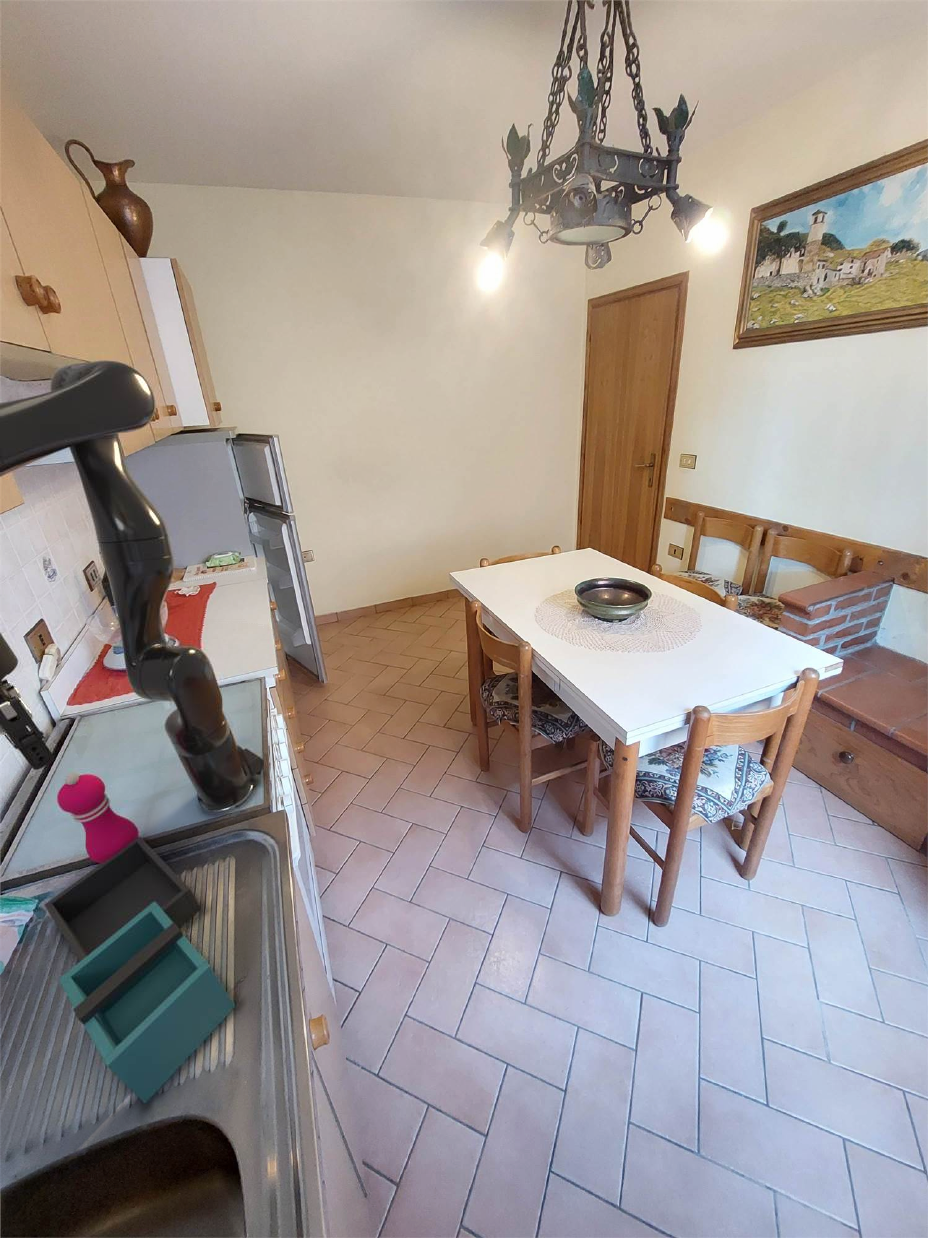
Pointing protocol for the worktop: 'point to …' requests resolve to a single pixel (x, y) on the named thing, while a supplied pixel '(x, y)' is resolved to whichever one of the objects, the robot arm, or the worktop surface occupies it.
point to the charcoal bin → (119, 897)
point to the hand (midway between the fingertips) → (32, 751)
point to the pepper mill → (95, 816)
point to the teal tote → (146, 1000)
